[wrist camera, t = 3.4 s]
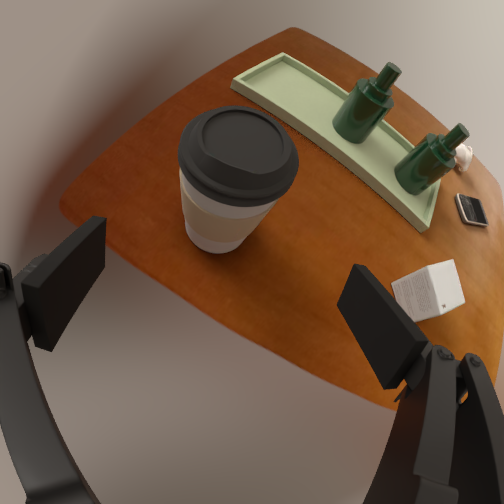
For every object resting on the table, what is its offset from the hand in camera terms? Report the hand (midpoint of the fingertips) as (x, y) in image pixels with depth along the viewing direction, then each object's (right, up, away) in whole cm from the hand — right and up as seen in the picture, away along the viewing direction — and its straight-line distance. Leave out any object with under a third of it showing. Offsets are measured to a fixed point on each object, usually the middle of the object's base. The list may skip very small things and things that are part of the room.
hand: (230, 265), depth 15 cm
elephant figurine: (+45, +21, +37) cm, 62 cm away
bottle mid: (+17, +21, +29) cm, 39 cm away
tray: (+17, +21, +29) cm, 40 cm away
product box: (+23, -6, +21) cm, 32 cm away
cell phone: (+46, +9, +33) cm, 57 cm away
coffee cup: (-3, +4, +18) cm, 19 cm away
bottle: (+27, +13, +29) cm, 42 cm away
